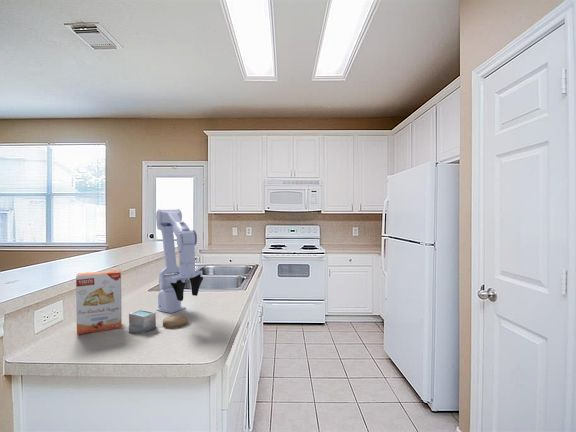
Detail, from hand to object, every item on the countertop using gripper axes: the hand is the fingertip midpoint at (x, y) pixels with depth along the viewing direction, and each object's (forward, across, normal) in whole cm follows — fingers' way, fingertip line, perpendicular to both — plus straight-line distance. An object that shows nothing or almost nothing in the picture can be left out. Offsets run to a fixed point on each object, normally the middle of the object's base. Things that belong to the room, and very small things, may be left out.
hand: (187, 297), depth 120 cm
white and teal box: (+8, -11, +11) cm, 18 cm away
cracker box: (+10, -18, +25) cm, 33 cm away
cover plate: (+5, -12, +11) cm, 17 cm away
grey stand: (+10, -11, +11) cm, 19 cm away
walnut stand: (+10, -3, +4) cm, 11 cm away
